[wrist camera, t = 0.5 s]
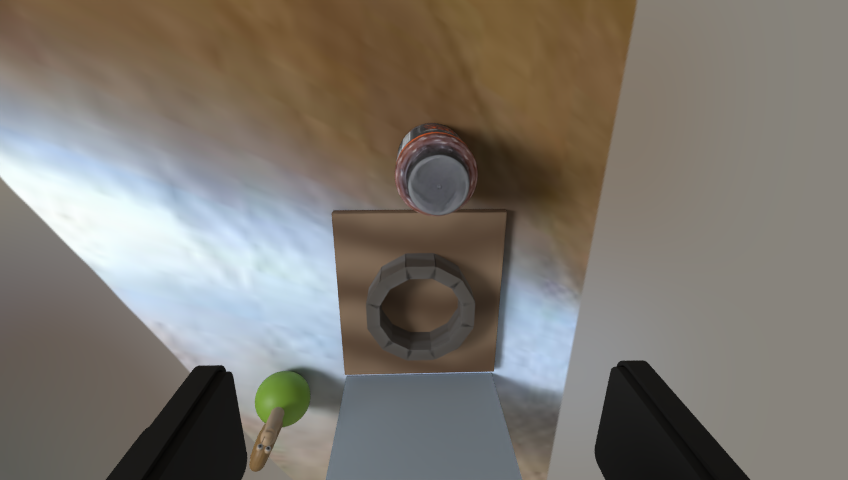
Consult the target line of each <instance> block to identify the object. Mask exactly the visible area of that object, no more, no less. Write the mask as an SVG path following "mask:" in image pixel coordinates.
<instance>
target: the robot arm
mask: <svg viewBox="0 0 848 480" xmlns="http://www.w3.org/2000/svg"><path fill="white" fill-rule="evenodd" d="M595 458H596V461H597V464H598V466H599V468H600V470H601V472H602V474H603V476H604V478H605V480H750V479H749V478H748V477H747V475H746V474H745V473H744V472H743V471H742V470H741V469H740V468H739V466H738V465H737V464H736V463H735V462H734V461H733V459H732V458H731V457H730V456H729V455H728V454H727V453H726V451H725V450H724V449H723V448H722V447H721V446H720V445H719V443H718V442H717V441H716V440H715V439H714V438H713V437H712V435H711V434H710V433H709V432H708V431H707V430H706V429H705V427H704V426H703V425H702V424H701V423H700V422H699V421H698V420H697V418H696V417H695V416H694V415H693V414H692V413H691V412H690V410H689V409H688V408H687V407H686V406H685V405H684V404H683V403H682V401H681V400H680V399H679V398H678V397H677V396H676V394H675V393H674V392H673V391H672V390H671V389H670V388H669V387H668V385H667V384H666V383H665V382H664V381H663V380H662V379H661V377H660V376H659V375H658V374H657V373H656V372H655V370H654V369H653V368H652V367H651V366H650V365H649V364H648V363H647V362H646V361H620V362H619V363H618V364H617V367H613V368H612V369H611V372H610V377H609V381H608V386H607V391H606V396H605V401H604V406H603V411H602V415H601V420H600V425H599V430H598V435H597V439H596V444H595ZM246 464H247V452H246V446H245V440H244V435H243V429H242V423H241V418H240V412H239V407H238V401H237V395H236V390H235V384H234V379H233V374H232V373H231V372H226V369H225V368H224V366H221V365H215V366H197V367H195V368H194V369H193V370H192V372H191V373H190V374H189V376H188V377H187V378H186V380H185V381H184V382H183V384H182V385H181V386H180V387H179V389H178V390H177V391H176V393H175V394H174V395H173V397H172V398H171V399H170V400H169V402H168V403H167V404H166V406H165V407H164V408H163V410H162V411H161V412H160V414H159V415H158V416H157V418H156V419H155V420H154V421H153V423H152V424H151V425H150V427H148V428H146V429H145V431H143V432H142V434H141V435H140V436H139V437H138V439H137V440H136V441H135V442H134V444H133V445H132V446H131V448H130V449H129V450H128V452H127V453H126V454H125V455H124V457H123V458H122V459H121V461H120V462H119V464H117V466H116V467H115V468H114V470H113V471H112V472H111V474H110V475H109V476H108V478H107V479H106V480H241V479H242V477H243V475H244V472H245V469H246Z"/></svg>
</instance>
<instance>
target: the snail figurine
mask: <svg viewBox="0 0 848 480" xmlns="http://www.w3.org/2000/svg"><path fill="white" fill-rule="evenodd" d="M309 403H310V389H309V386H308V384H307V382H306V381H305V379H304V378H303V377H302V376H300V375H299V374H297V373H295V372H291V371H281V372H277V373H274V374H272V375H271V376H269V377H268V378H266V379H265V380H264V381H263V382H262V384H261V385H260V387H259V388H258V390H257V393H256V397H255V408H256V412H257V414H258V416H259V417H260V419H261V420H262V421H263V422H264V423H266V424H265V425H264V426H263V428H262V430H261V431H260V433H259V435H258V437H257V440H256V442H255V445H254V447H253V451H252V454H251V457H250V459H251V461H250V464H249V466H250V469H251V470H252V471H255V472H257V471H260V470H261V469H262V468H263V467H264V465H265V463H266V461H267V459H268V457H269V455H270V453H271V451H272V448H273V446H274V444H275V441H276V439H277V437H278V435H279V432H280V430H281V428H282V427H286V426H289V425H292V424H294V423H295V422H297V421H298V420H299V419H301V418H302V416H303V415H304V414H305V412H306V411H307V409H308V406H309Z"/></svg>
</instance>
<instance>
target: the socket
mask: <svg viewBox="0 0 848 480" xmlns="http://www.w3.org/2000/svg"><path fill="white" fill-rule="evenodd" d="M506 216H507V212H506V211H505V209H460V210H457V211H455V212H453V213H451V214H448V215H444V216H427V215H423V214H421V213H418V212H416V211H414V210H333V212H332V224H333V236H334V248H335V260H336V273H337V285H338V297H339V309H340V321H341V334H342V346H343V358H344V370H345V375H357V374H401V373H446V372H490V371H494V363H495V351H496V338H497V326H498V314H499V302H500V289H501V277H502V265H503V252H504V240H505V228H506Z"/></svg>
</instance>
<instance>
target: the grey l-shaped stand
mask: <svg viewBox="0 0 848 480" xmlns="http://www.w3.org/2000/svg"><path fill="white" fill-rule="evenodd" d="M326 480H522V477H521V474H520V470H519V467H518V463H517V460H516V456H515V453H514V449H513V446H512V443H511V439H510V436H509V432H508V429H507V425H506V422H505V418H504V415H503V411H502V408H501V404H500V401H499V397H498V394H497V390H496V387H495V383H494V380H493V376H492V373H459V374H415V375H371V376H347V377H346V382H345V387H344V392H343V397H342V402H341V407H340V412H339V417H338V422H337V427H336V432H335V437H334V442H333V447H332V451H331V456H330V461H329V466H328V471H327V476H326Z"/></svg>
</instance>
